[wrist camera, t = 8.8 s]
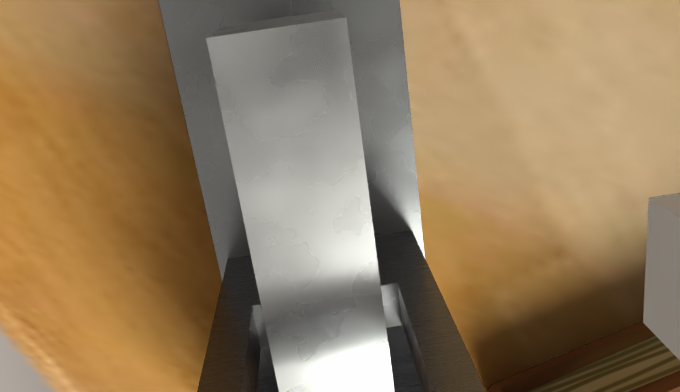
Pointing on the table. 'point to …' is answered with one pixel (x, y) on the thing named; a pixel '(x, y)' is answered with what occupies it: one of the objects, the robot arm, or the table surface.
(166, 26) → the grey slotted frame stand
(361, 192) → the light grey square rod
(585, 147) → the table surface
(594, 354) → the diary
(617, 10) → the table surface
